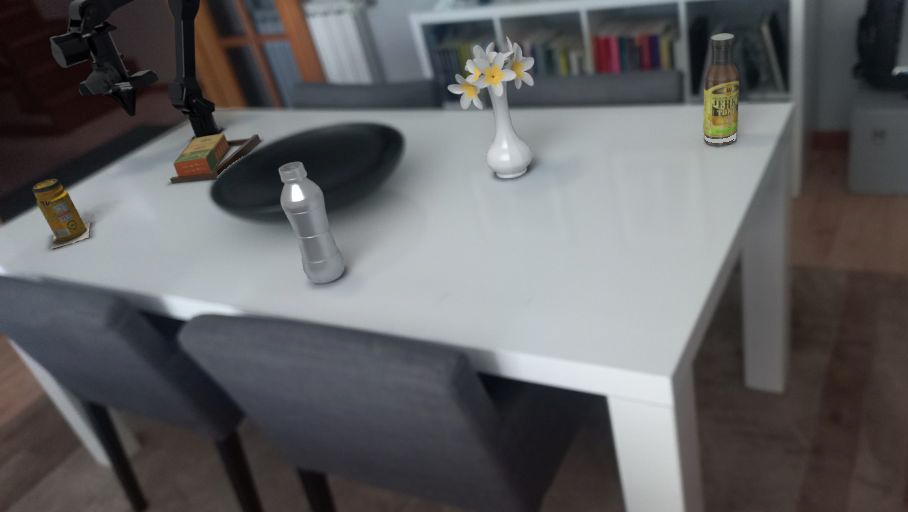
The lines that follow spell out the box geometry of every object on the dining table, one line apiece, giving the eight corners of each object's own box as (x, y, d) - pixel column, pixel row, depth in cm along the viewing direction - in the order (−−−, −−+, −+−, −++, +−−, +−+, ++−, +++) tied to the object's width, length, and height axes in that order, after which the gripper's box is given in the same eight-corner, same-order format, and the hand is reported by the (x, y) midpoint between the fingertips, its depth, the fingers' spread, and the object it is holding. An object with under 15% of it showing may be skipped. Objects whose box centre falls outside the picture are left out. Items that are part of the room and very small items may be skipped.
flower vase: (461, 193, 140) (433, 64, 126) (503, 153, 153) (481, 33, 140) (522, 197, 134) (500, 62, 121) (560, 155, 147) (543, 29, 134)
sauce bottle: (711, 150, 137) (710, 44, 126) (698, 139, 142) (695, 36, 132) (744, 143, 137) (745, 36, 127) (729, 132, 143) (729, 29, 132)
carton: (230, 148, 187) (224, 132, 185) (212, 173, 173) (205, 156, 171) (199, 153, 187) (192, 137, 185) (178, 178, 174) (171, 162, 171)
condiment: (89, 223, 159) (63, 173, 152) (89, 238, 152) (61, 186, 146) (54, 235, 157) (26, 184, 150) (51, 250, 150) (22, 198, 144)
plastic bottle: (311, 271, 123) (272, 162, 113) (350, 264, 123) (315, 154, 113) (305, 291, 118) (264, 179, 107) (346, 284, 118) (309, 170, 107)
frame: (217, 146, 190) (214, 138, 189) (260, 141, 187) (258, 134, 186) (171, 183, 172) (168, 175, 171) (219, 178, 169) (216, 171, 168)
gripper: (50, 69, 170) (81, 131, 178) (118, 59, 166) (147, 124, 174) (80, 55, 179) (108, 115, 188) (145, 45, 175) (171, 107, 183)
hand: (133, 115), depth 183 cm, fingers closed
